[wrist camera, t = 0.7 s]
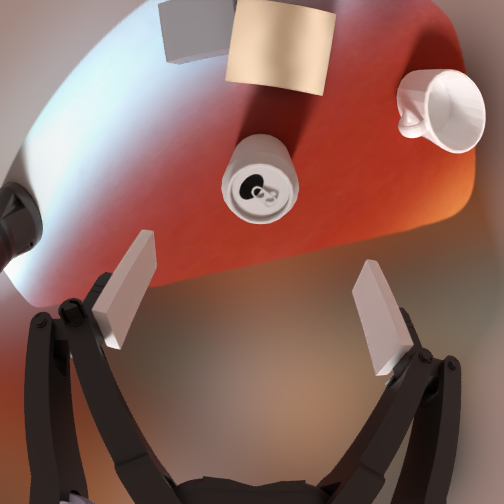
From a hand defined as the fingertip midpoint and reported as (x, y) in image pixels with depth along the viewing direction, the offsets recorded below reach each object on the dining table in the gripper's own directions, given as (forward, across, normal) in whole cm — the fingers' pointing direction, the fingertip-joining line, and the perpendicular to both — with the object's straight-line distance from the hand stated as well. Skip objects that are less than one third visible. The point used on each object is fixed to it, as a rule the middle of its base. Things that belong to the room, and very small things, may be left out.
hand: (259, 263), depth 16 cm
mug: (+22, +20, +13) cm, 33 cm away
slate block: (+22, -9, +17) cm, 29 cm away
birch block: (+22, 0, +15) cm, 27 cm away
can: (+22, 0, 0) cm, 22 cm away
